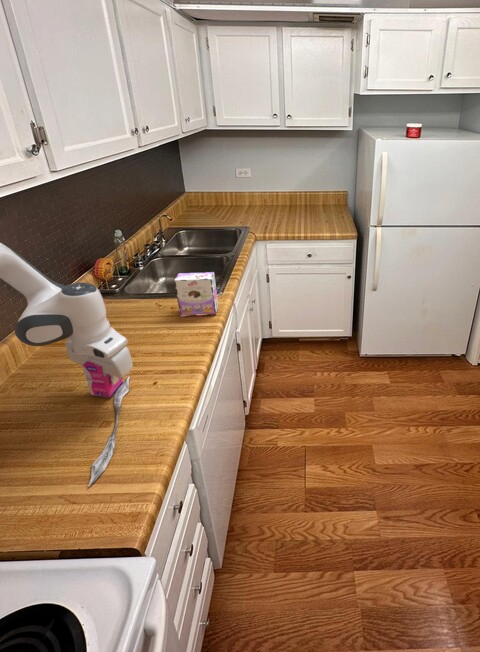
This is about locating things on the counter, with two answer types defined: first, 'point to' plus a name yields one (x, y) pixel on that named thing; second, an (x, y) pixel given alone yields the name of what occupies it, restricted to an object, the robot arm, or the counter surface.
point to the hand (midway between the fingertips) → (104, 378)
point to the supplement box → (99, 380)
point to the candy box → (196, 293)
